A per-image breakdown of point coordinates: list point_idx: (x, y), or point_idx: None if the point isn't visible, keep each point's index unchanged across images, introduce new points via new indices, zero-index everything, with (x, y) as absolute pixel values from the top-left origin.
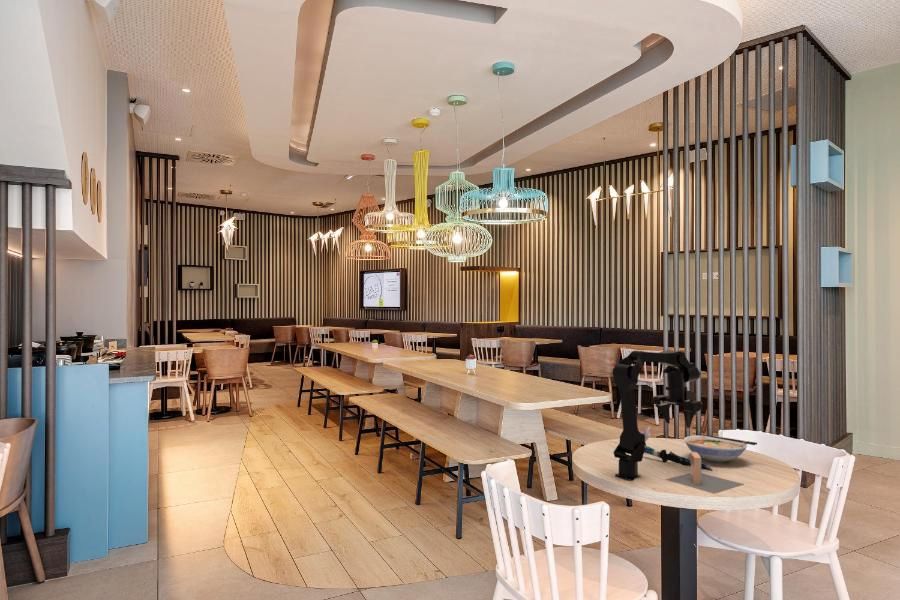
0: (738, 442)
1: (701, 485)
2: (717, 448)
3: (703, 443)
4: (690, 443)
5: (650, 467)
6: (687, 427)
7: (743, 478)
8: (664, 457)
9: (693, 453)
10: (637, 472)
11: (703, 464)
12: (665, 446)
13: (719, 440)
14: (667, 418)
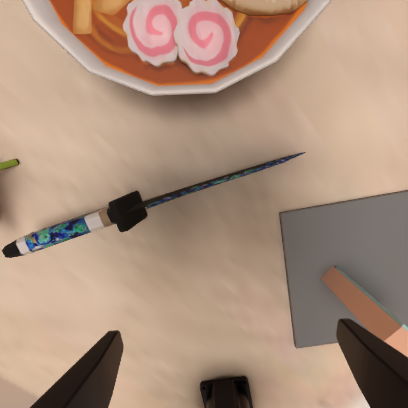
0: None
1: (384, 306)
2: (297, 38)
3: None
4: (152, 94)
5: (175, 289)
6: (343, 342)
7: (403, 111)
8: (136, 212)
9: (406, 354)
10: (234, 386)
11: (278, 163)
12: None
13: None
14: (100, 397)
